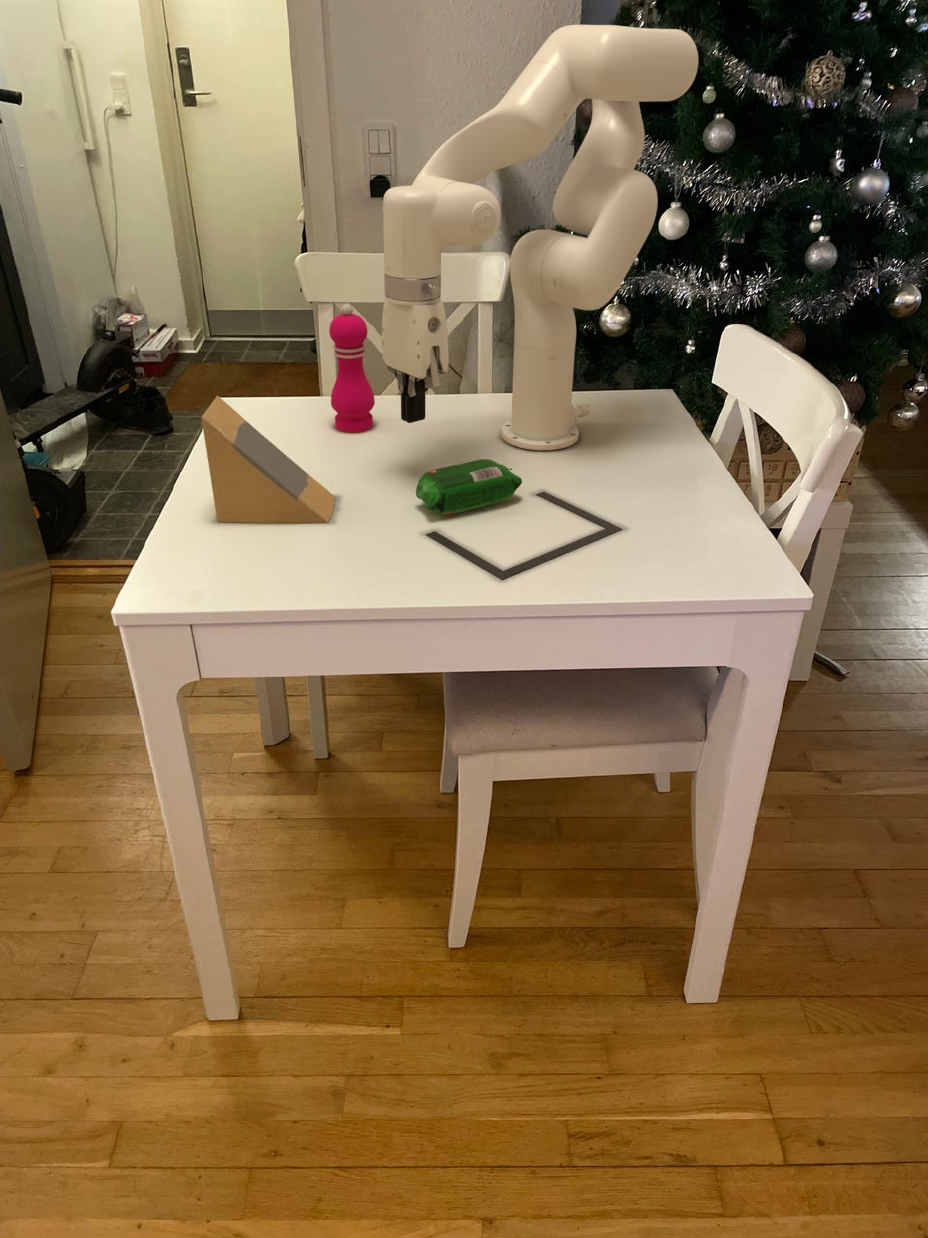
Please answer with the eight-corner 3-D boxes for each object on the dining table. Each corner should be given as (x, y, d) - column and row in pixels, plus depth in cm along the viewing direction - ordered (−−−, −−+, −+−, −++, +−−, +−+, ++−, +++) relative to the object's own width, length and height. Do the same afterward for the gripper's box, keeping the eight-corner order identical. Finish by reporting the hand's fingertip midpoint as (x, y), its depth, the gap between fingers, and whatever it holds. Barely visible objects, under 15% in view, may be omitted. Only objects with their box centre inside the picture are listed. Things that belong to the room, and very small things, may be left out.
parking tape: (543, 491, 136) (543, 491, 136) (622, 529, 126) (622, 528, 126) (425, 534, 125) (425, 534, 125) (502, 579, 115) (502, 579, 115)
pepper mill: (338, 417, 161) (330, 297, 151) (380, 419, 161) (374, 299, 150) (327, 432, 155) (318, 308, 145) (370, 435, 155) (364, 310, 144)
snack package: (530, 501, 134) (531, 467, 131) (430, 524, 127) (430, 488, 125) (504, 483, 139) (505, 450, 136) (408, 504, 133) (407, 469, 130)
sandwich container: (329, 523, 127) (321, 417, 119) (216, 522, 127) (200, 416, 119) (337, 496, 135) (329, 394, 127) (230, 495, 135) (215, 393, 127)
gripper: (469, 295, 123) (466, 429, 133) (402, 274, 133) (403, 401, 143) (424, 302, 119) (424, 440, 129) (357, 280, 129) (362, 410, 139)
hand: (413, 419), depth 136 cm, fingers closed
